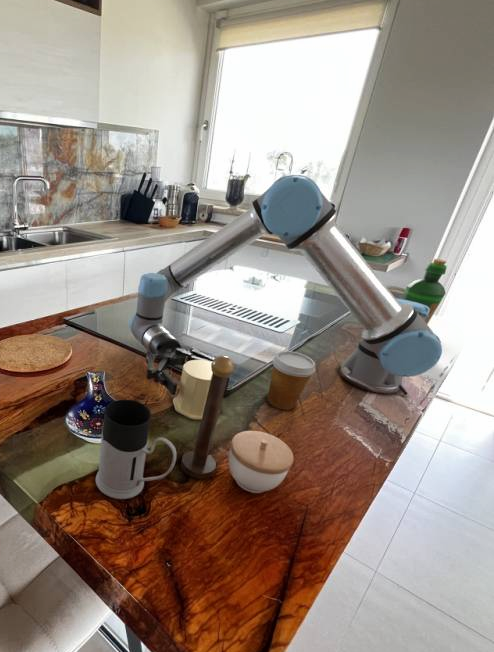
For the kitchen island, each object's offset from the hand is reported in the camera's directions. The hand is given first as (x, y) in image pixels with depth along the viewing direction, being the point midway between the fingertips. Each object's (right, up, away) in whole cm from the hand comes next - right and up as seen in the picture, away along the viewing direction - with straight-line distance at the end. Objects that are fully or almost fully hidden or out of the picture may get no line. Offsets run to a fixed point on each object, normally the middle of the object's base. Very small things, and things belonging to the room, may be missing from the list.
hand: (201, 386), depth 93 cm
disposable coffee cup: (+21, -4, +8) cm, 23 cm away
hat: (-1, -5, +4) cm, 6 cm away
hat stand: (-4, -15, -14) cm, 22 cm away
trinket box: (+6, -18, -16) cm, 25 cm away
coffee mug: (+91, +30, +75) cm, 122 cm away
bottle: (+78, +15, +48) cm, 93 cm away
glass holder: (-16, -18, -20) cm, 32 cm away
